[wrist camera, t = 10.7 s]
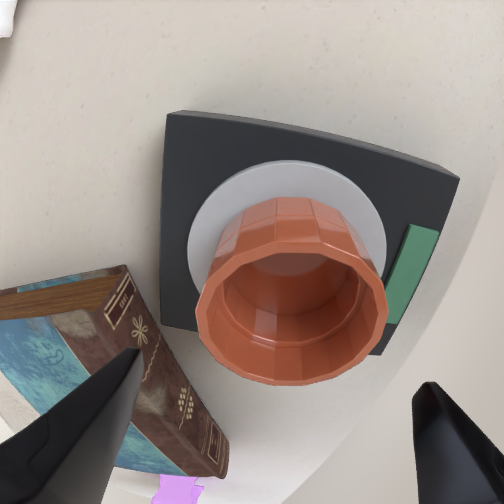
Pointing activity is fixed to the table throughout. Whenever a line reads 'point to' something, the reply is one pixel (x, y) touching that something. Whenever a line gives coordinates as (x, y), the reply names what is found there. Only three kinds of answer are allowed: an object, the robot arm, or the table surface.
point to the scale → (292, 185)
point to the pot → (291, 295)
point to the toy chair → (177, 490)
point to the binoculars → (7, 17)
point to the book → (97, 355)
